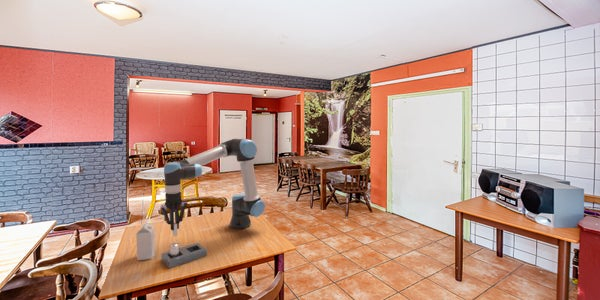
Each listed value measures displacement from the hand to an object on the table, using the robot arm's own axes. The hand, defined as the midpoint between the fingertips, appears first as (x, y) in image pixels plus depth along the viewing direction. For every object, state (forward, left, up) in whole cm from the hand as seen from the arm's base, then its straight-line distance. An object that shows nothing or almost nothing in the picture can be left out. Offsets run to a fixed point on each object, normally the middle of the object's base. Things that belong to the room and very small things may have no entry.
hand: (175, 235), depth 141 cm
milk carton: (+10, -15, -14) cm, 23 cm away
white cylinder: (0, 0, -14) cm, 14 cm away
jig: (-5, 0, -14) cm, 15 cm away
